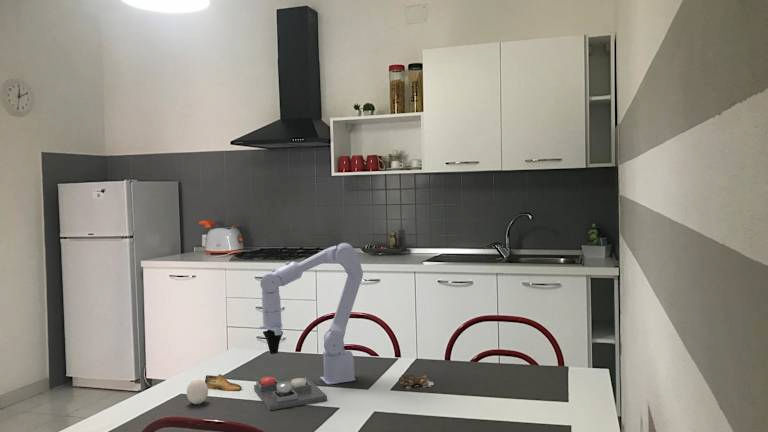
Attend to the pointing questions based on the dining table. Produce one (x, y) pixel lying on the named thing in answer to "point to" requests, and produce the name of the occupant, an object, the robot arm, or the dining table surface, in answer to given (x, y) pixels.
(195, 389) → the egg
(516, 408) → the dining table surface
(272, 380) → the red button
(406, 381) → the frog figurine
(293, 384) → the ivory button
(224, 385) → the shoe last
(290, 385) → the steel button
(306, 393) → the slate panel
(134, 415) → the dining table surface
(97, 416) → the dining table surface
